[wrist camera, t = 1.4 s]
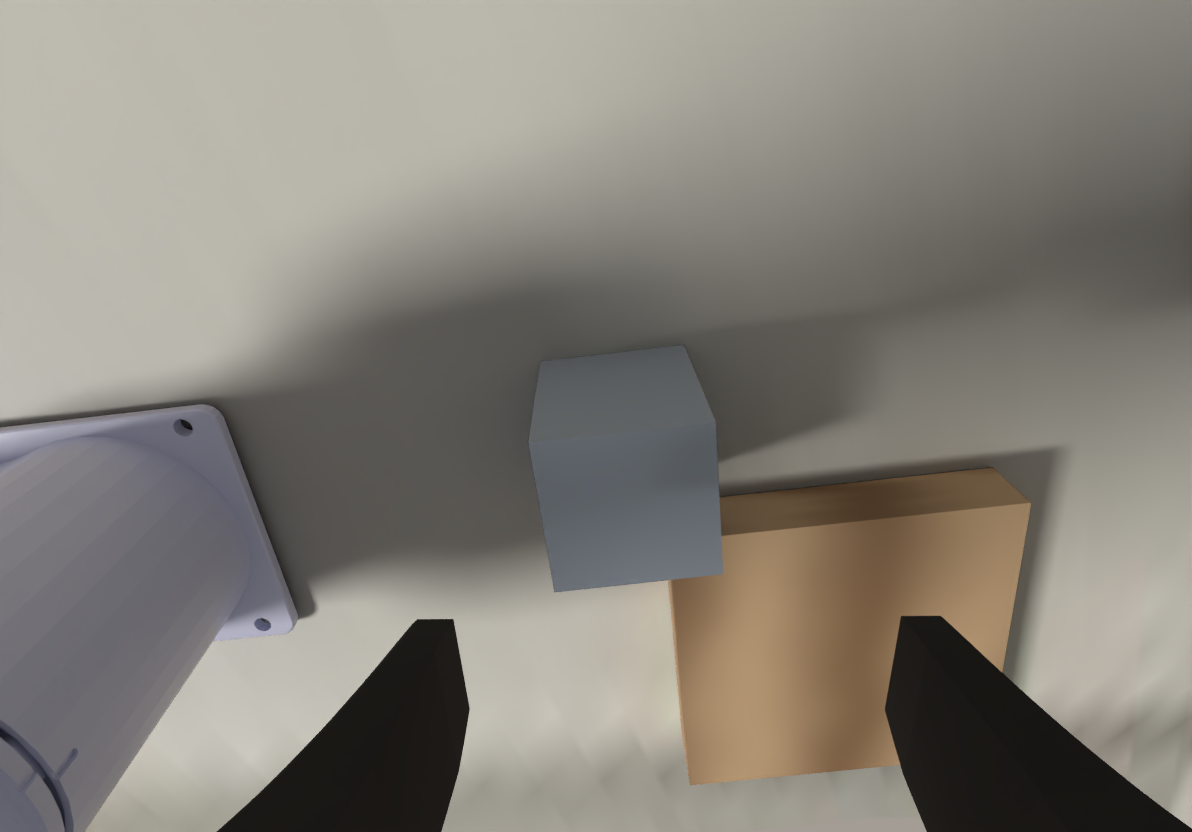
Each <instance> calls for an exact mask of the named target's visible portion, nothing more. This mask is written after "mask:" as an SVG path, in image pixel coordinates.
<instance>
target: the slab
mask: <svg viewBox="0 0 1192 832" xmlns="http://www.w3.org/2000/svg"><path fill="white" fill-rule="evenodd" d="M719 498H720V519H721V539H722V560H723V574H721V575H711V576H702V577H692V578H683V579H674V580H669V592H670V603H671V614H672V625H673V637H674V648H675V659H676V671H677V682H678V693H679V704H680V716H681V727H682V737H683V744H684V750H685V756H686V762H687V769H688V775H689V781H690V785H697V784H707V783H717V782H728V781H738V780H748V779H759V778H769V777H779V776H790V775H800V774H810V773H821V772H831V771H841V770H852V769H862V768H872V767H882V766H893V765H900V762H899V758H898V755H897V752H896V748H895V745H894V741H893V738H892V734H891V731H890V727H889V723H888V720H887V716H886V713H885V705H886V699H887V693H888V688H889V682H890V676H891V670H892V665H893V659H894V653H895V648H896V642H897V636H898V630H899V625H900V619H901V616H942V617H943V618H944V619H945V620H946V621H947V622H948V623H949V624H951V625H952V626H953V627H954V628H955V629H956V630H957V631H958V632H959V633H960V634H961V635H962V636H963V637H964V638H966V639H967V640H968V641H969V642H970V643H971V644H972V645H973V646H974V647H975V648H976V649H977V650H978V651H979V652H980V653H982V654H983V655H984V656H985V657H986V658H987V659H988V660H989V661H990V662H991V663H992V664H993V665H994V666H995V667H997V668H998V669H999V670H1000V671H1001V672H1002V671H1003V665H1004V659H1005V653H1006V648H1007V642H1008V636H1009V630H1010V624H1011V619H1012V613H1013V607H1014V601H1015V595H1016V590H1017V584H1018V578H1019V572H1020V566H1021V561H1022V555H1023V549H1024V543H1025V537H1026V531H1027V526H1028V520H1029V514H1030V508H1031V502H1030V501H1029V500H1028V499H1027V498H1026V497H1025V496H1023V495H1022V494H1021V493H1020V492H1019V491H1018V490H1017V489H1016V488H1015V487H1014V486H1012V485H1011V484H1010V483H1009V482H1008V481H1007V480H1006V479H1005V478H1004V477H1002V476H1001V475H1000V474H999V473H998V472H997V471H996V470H995V469H994V468H993V467H992V468H983V469H974V470H965V471H955V472H946V473H937V474H928V475H919V476H910V477H900V478H891V479H882V480H873V481H864V482H855V483H845V484H836V485H827V486H818V487H809V488H800V489H790V490H781V491H772V492H763V493H754V494H745V495H735V496H726V497H719Z"/></svg>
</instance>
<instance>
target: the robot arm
mask: <svg viewBox="0 0 1192 832" xmlns="http://www.w3.org/2000/svg"><path fill="white" fill-rule="evenodd" d="M181 419H182V420H186V421H188V422H189V423H190V424H191V425H192V427H193V430H188V429H186V428H185V427H184V426H183V425H182V424H181ZM261 618H264V619H266V620H268V621H269V622H270V623H269V622H264V621H263V620H261ZM297 620H298V614H297V611H296V609H295V606H294V603H293V601H292V598H291V595H290V593H289V590H288V587H287V585H286V582H285V579H284V577H283V574H282V571H281V569H280V566H279V563H278V561H277V558H276V555H275V553H274V550H273V547H272V545H271V542H270V539H269V537H268V534H267V531H266V529H265V526H264V523H263V521H262V518H261V515H260V513H259V510H258V507H257V505H256V502H255V499H254V497H253V494H252V491H251V489H250V486H249V483H248V481H247V478H246V475H245V473H244V470H243V467H242V465H241V462H240V459H239V457H238V454H237V451H236V449H235V446H234V443H233V441H232V438H231V435H230V433H229V430H228V427H227V425H226V422H225V419H224V417H223V416H222V414H221V412H219V411H218V410H217V409H216V408H214V407H212V406H209V405H203V404H199V405H191V406H182V407H173V408H165V409H156V410H147V411H139V412H130V413H122V414H113V415H104V416H96V417H87V418H78V419H70V420H61V421H52V422H44V423H35V424H26V425H18V426H9V427H0V832H85V830H86V829H87V827H88V826H89V824H90V823H91V821H92V820H93V818H94V817H95V815H96V814H97V812H98V811H99V809H100V808H101V807H102V805H103V804H104V802H105V801H106V799H107V798H108V796H109V795H110V793H111V792H112V790H113V789H114V787H115V786H116V784H117V783H118V781H119V780H120V778H121V777H122V775H123V774H124V772H125V771H126V769H127V768H128V766H129V765H130V763H131V762H132V760H133V759H134V757H135V756H136V755H137V753H138V752H139V750H140V749H141V747H142V746H143V744H144V743H145V741H146V740H147V738H148V737H149V735H150V734H151V732H152V731H153V729H154V728H155V726H156V725H157V723H158V722H159V720H160V719H161V717H162V716H163V714H164V713H165V711H166V710H167V708H168V707H169V705H170V704H171V703H172V701H173V700H174V698H175V697H176V695H177V694H178V692H179V691H180V689H181V688H182V686H183V685H184V683H185V682H186V680H187V679H188V677H189V676H190V674H191V673H192V671H193V670H194V668H195V667H196V665H197V664H198V662H199V661H200V659H201V658H202V656H203V655H204V653H205V652H206V650H207V649H208V648H209V646H210V645H211V643H212V642H213V641H222V640H232V639H241V638H251V637H260V636H270V635H280V634H285V633H289V632H290V631H291V630H293V628H294V626H295V624H296V622H297ZM885 713H886V716H887V720H888V723H889V727H890V731H891V734H892V738H893V741H894V745H895V748H896V752H897V755H898V758H899V762H900V765H901V768H902V772H903V775H904V777H905V780H906V782H907V785H908V787H909V790H910V792H911V795H912V797H913V799H914V802H915V804H916V807H917V809H918V812H919V814H920V816H921V819H922V821H923V823H924V826H925V828H926V830H927V832H1192V829H1191V828H1190V827H1189V826H1187V825H1186V824H1185V823H1183V822H1182V821H1180V820H1179V819H1178V818H1176V817H1175V816H1174V815H1172V814H1171V813H1169V812H1168V811H1167V810H1165V809H1164V808H1163V807H1161V806H1160V805H1159V804H1157V803H1156V802H1155V801H1153V800H1152V799H1151V798H1149V797H1148V796H1147V795H1146V794H1144V793H1143V792H1142V791H1140V790H1139V789H1138V788H1136V787H1135V786H1134V785H1133V784H1131V783H1130V782H1129V781H1128V780H1126V779H1125V778H1124V777H1123V776H1122V775H1120V774H1119V773H1118V772H1117V771H1115V770H1114V769H1113V768H1112V767H1110V766H1109V765H1108V764H1107V763H1105V762H1104V761H1103V760H1102V759H1100V758H1099V757H1098V756H1097V755H1096V754H1094V753H1093V752H1092V751H1091V750H1089V749H1088V748H1087V747H1086V746H1085V745H1083V744H1082V743H1081V742H1080V741H1079V740H1078V739H1076V738H1075V737H1074V736H1073V735H1072V734H1070V733H1069V732H1068V731H1067V730H1066V729H1065V728H1063V727H1062V726H1061V725H1060V724H1059V723H1058V722H1057V721H1055V720H1054V719H1053V718H1052V717H1051V716H1050V715H1048V714H1047V713H1046V712H1045V711H1044V710H1043V709H1042V708H1041V707H1039V706H1038V705H1037V704H1036V703H1035V702H1034V701H1033V700H1032V699H1030V698H1029V697H1028V696H1027V695H1026V694H1025V693H1024V692H1023V691H1022V690H1021V689H1019V688H1018V687H1017V686H1016V685H1015V684H1014V683H1013V682H1012V681H1011V680H1010V679H1008V678H1007V677H1006V676H1005V675H1004V674H1003V673H1002V672H1001V671H1000V670H999V669H998V668H997V667H995V666H994V665H993V664H992V663H991V662H990V661H989V660H988V659H987V658H986V657H985V656H984V655H983V654H982V653H980V652H979V651H978V650H977V649H976V648H975V647H974V646H973V645H972V644H971V643H970V642H969V641H968V640H967V639H966V638H964V637H963V636H962V635H961V634H960V633H959V632H958V631H957V630H956V629H955V628H954V627H953V626H952V625H951V624H949V623H948V622H947V621H946V620H945V619H944V618H943V617H942V616H901V619H900V625H899V630H898V636H897V642H896V648H895V653H894V659H893V665H892V670H891V676H890V682H889V688H888V693H887V699H886V705H885ZM468 715H469V703H468V698H467V692H466V687H465V681H464V676H463V670H462V665H461V659H460V654H459V648H458V643H457V637H456V632H455V626H454V621H453V619H417V620H416V621H415V622H414V623H413V624H412V625H411V626H410V628H409V629H408V630H407V631H406V632H405V634H404V635H403V636H402V637H401V638H400V640H399V641H398V642H397V643H396V644H395V646H394V647H393V648H392V649H391V650H390V652H389V653H388V654H387V655H386V656H385V658H384V659H383V660H382V661H381V662H380V664H379V665H378V666H377V667H376V668H375V670H374V671H373V672H372V673H371V674H370V676H369V677H368V678H367V679H366V680H365V681H364V683H363V684H362V685H361V686H360V687H359V688H358V690H357V691H356V692H355V693H354V694H353V695H352V696H351V697H350V699H349V700H348V701H347V702H346V703H345V704H344V705H343V706H342V708H341V709H340V710H339V711H338V712H337V713H336V714H335V716H334V717H333V718H332V719H331V720H330V721H329V722H328V723H327V724H326V726H325V727H324V728H323V729H322V730H321V731H320V732H319V733H318V734H317V735H316V736H315V737H314V738H313V739H312V740H311V741H310V742H309V743H308V744H307V746H306V747H305V748H304V749H303V750H302V751H301V752H300V753H299V754H298V755H297V756H296V757H295V758H294V759H293V760H292V761H291V762H290V763H289V764H288V765H287V766H286V767H285V768H284V769H283V770H282V771H281V772H280V773H279V774H278V775H277V776H276V777H275V778H274V779H273V780H272V781H271V782H270V783H269V784H268V785H267V786H266V787H265V788H264V789H263V790H262V791H261V792H260V793H259V794H258V795H257V796H256V797H255V798H253V799H252V800H251V801H250V802H249V803H248V804H247V805H246V806H245V807H244V808H243V809H242V810H240V811H239V812H238V813H237V814H236V815H235V816H234V817H233V818H232V819H231V820H229V821H228V822H227V823H226V824H225V825H224V826H223V827H222V828H221V829H219V830H218V831H217V832H441V831H442V827H443V824H444V820H445V817H446V814H447V810H448V807H449V803H450V800H451V796H452V793H453V789H454V786H455V782H456V779H457V775H458V772H459V767H460V761H461V756H462V750H463V745H464V739H465V733H466V727H467V721H468Z"/></svg>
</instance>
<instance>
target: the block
mask: <svg viewBox="0 0 1192 832" xmlns="http://www.w3.org/2000/svg"><path fill="white" fill-rule="evenodd" d="M528 445H529V450H530V456H531V462H532V467H533V473H534V479H535V484H536V490H537V496H538V501H539V507H540V513H541V518H542V524H543V530H544V535H545V541H546V547H547V552H548V558H549V564H550V569H551V575H552V581H553V586H554V592H562V591H571V590H580V589H590V588H599V587H608V586H618V585H627V584H636V583H646V582H655V581H664V580H674V579H683V578H692V577H702V576H711V575H721V574H723V560H722V539H721V519H720V498H719V477H718V456H717V435H716V421H715V418H714V416H713V414H712V411H711V409H710V406H709V404H708V402H707V399H706V397H705V394H704V392H703V389H702V387H701V385H700V382H699V380H698V377H697V375H696V373H695V370H694V368H693V365H692V363H691V360H690V358H689V356H688V353H687V351H686V348H685V346H684V345H677V346H668V347H659V348H651V349H642V350H634V351H625V352H616V353H608V354H599V355H591V356H582V357H574V358H565V359H556V360H548V361H540V366H539V373H538V380H537V387H536V393H535V400H534V407H533V414H532V421H531V427H530V434H529V441H528Z"/></svg>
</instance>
